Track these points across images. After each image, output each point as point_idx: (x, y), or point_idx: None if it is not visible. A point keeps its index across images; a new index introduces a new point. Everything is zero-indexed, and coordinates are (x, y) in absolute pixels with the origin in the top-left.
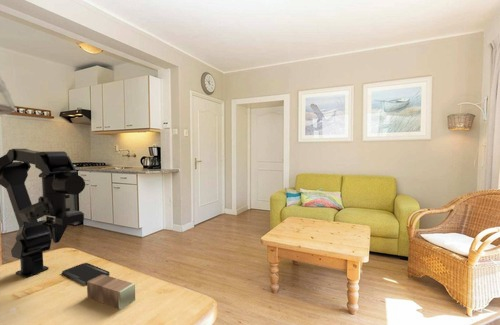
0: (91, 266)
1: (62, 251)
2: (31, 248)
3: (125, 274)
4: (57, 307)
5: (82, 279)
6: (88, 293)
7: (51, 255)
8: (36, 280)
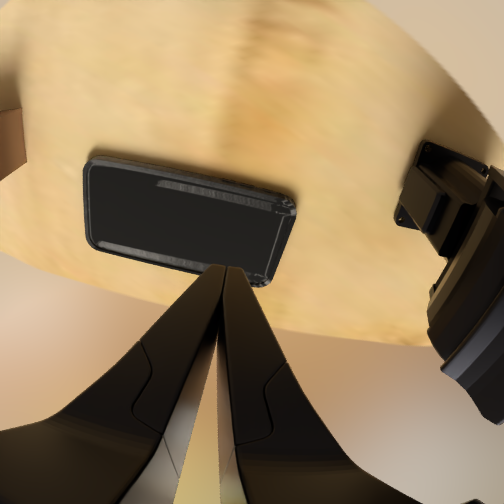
0: None
1: None
2: (478, 221)
3: (57, 254)
4: (49, 25)
5: (129, 176)
6: (7, 113)
7: None
8: (354, 124)
